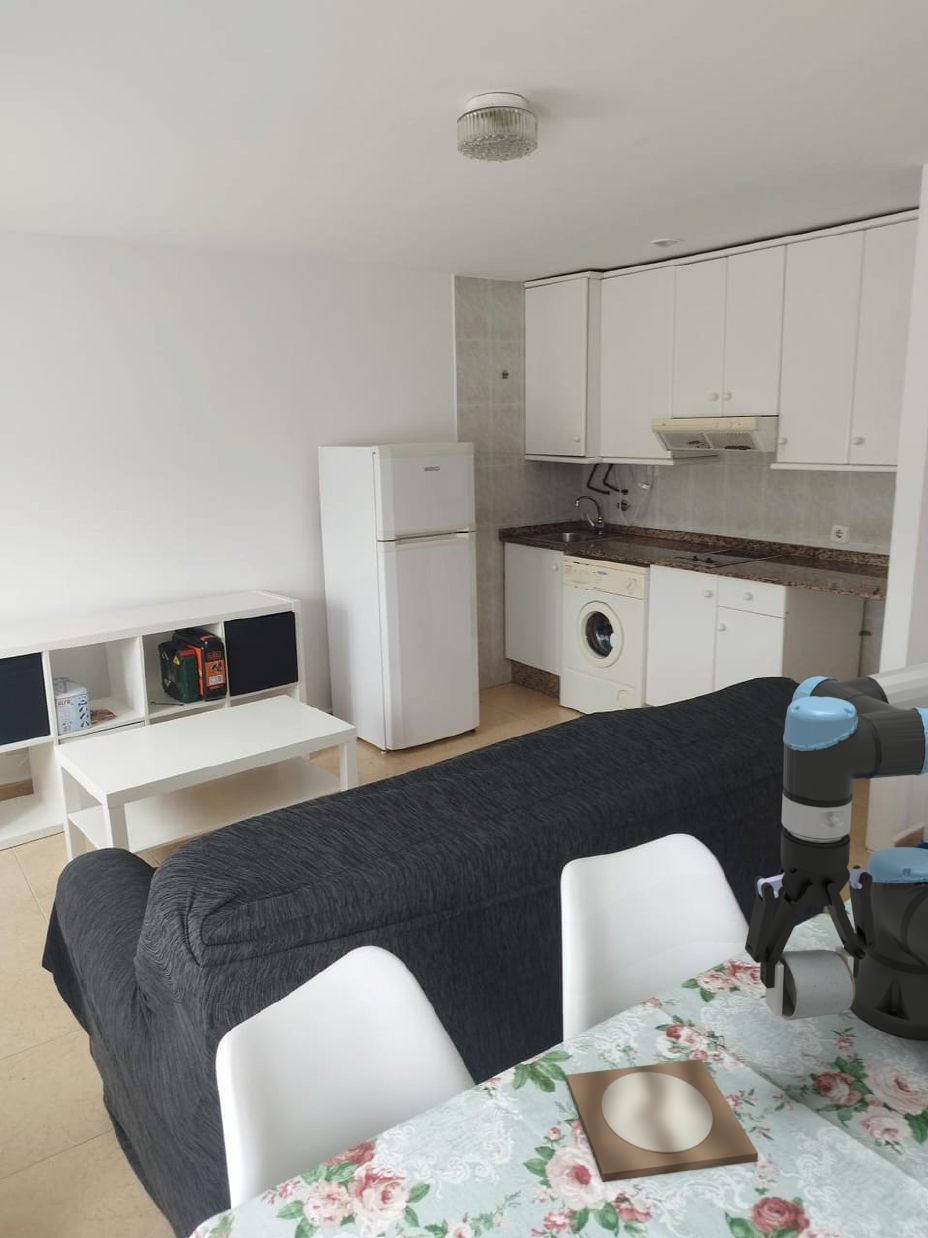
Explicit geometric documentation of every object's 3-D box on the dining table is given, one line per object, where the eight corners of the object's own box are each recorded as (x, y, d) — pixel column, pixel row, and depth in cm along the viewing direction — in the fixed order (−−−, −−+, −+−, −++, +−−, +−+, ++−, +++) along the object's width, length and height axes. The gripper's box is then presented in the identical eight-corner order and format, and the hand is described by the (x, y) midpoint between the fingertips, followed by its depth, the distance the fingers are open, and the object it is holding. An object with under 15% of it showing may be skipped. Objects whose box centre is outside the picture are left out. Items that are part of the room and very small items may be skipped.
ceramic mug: (859, 1024, 105) (861, 964, 104) (795, 1034, 104) (797, 974, 102) (808, 975, 115) (810, 920, 114) (750, 983, 114) (751, 928, 113)
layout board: (701, 1065, 116) (701, 1056, 116) (757, 1161, 101) (758, 1151, 100) (566, 1081, 114) (566, 1072, 113) (603, 1182, 98) (603, 1171, 98)
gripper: (744, 852, 99) (739, 1035, 103) (918, 835, 102) (907, 1013, 106) (716, 825, 106) (713, 996, 111) (879, 809, 109) (870, 977, 113)
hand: (808, 1004), depth 108 cm, fingers closed on ceramic mug, 8 cm apart
